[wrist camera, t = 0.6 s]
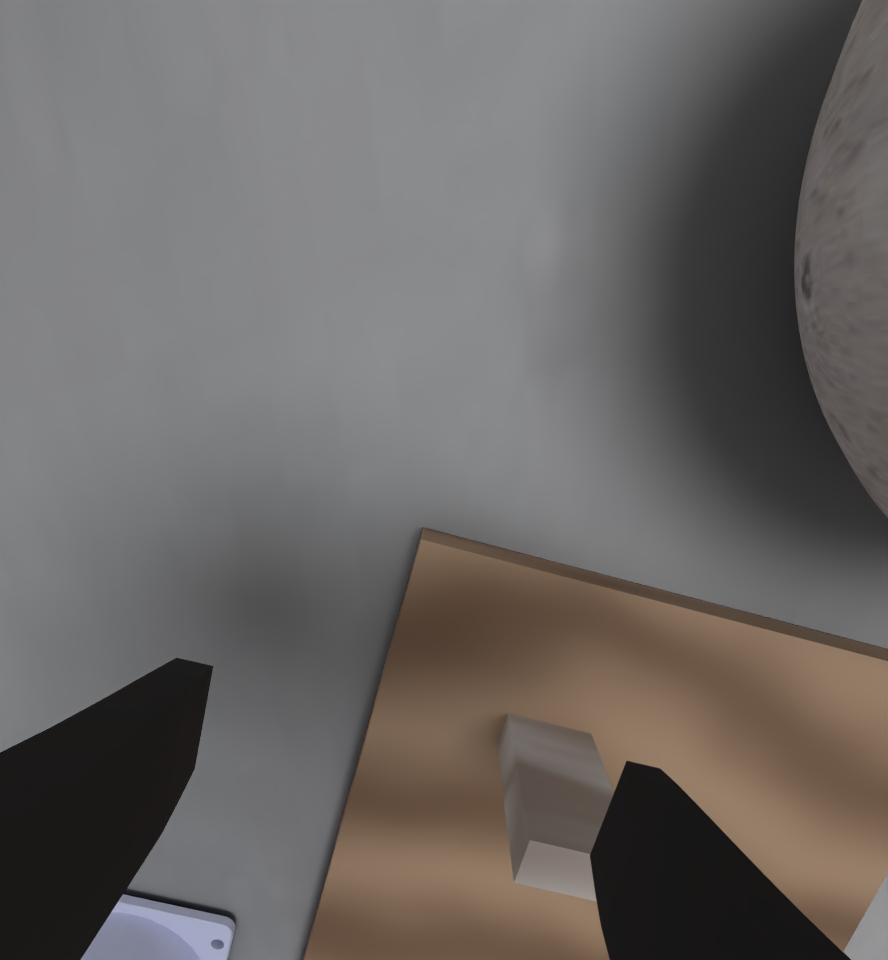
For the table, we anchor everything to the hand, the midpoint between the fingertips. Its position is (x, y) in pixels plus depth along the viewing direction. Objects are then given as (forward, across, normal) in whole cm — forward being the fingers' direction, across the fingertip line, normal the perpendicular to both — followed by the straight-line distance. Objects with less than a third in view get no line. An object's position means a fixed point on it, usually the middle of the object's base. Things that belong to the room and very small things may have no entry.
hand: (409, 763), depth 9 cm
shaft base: (+10, -9, +9) cm, 16 cm away
